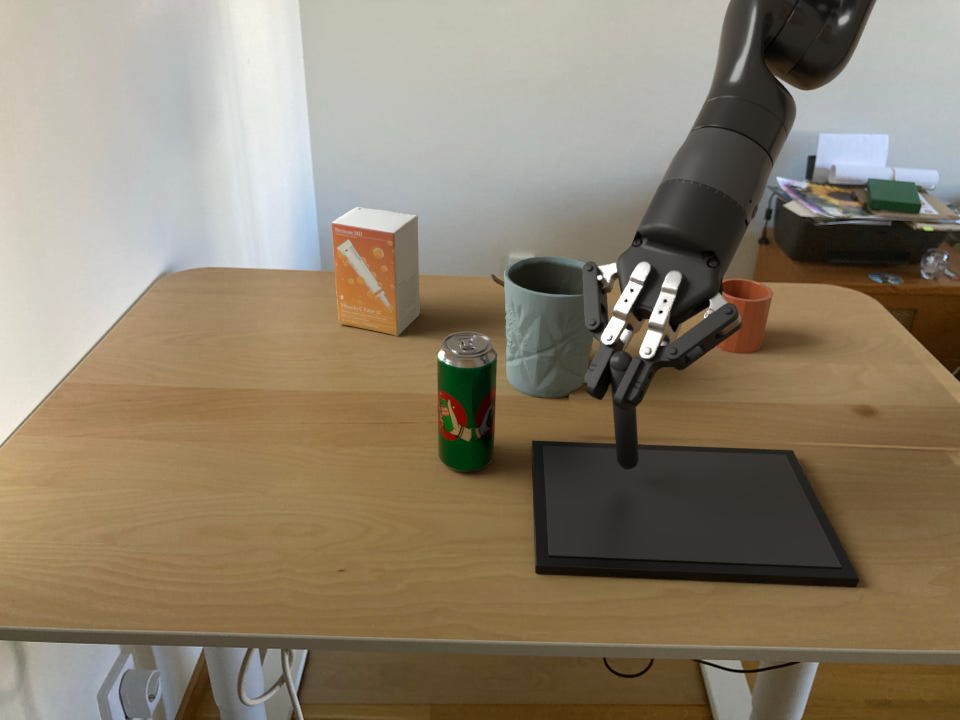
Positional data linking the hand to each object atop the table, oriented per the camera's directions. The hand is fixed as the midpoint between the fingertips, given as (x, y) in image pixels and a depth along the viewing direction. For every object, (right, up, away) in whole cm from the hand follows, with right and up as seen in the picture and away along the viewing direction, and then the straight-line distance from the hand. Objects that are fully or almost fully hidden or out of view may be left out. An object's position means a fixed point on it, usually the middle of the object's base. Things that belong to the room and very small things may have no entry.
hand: (607, 400), depth 58 cm
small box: (-22, +8, +37) cm, 43 cm away
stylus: (+3, -6, +8) cm, 10 cm away
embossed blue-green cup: (-2, +1, +26) cm, 26 cm away
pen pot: (+20, +5, +33) cm, 39 cm away
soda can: (-11, -6, +13) cm, 18 cm away
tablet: (+7, -10, +7) cm, 14 cm away
